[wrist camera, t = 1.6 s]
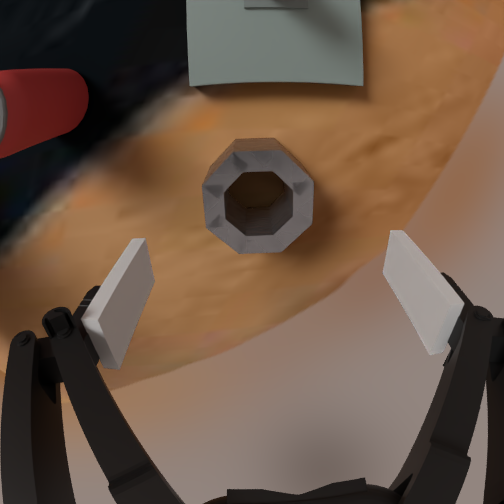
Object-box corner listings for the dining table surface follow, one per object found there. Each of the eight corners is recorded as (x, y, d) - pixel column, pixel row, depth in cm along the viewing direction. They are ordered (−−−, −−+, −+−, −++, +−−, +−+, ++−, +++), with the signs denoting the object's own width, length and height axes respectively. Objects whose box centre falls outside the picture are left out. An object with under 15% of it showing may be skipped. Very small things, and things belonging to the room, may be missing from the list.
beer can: (104, 88, 23) (24, 97, 13) (70, 145, 25) (-9, 184, 15) (59, 57, 21) (-27, 57, 10) (29, 113, 23) (-54, 139, 13)
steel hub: (215, 223, 30) (209, 254, 25) (208, 140, 26) (199, 153, 21) (299, 220, 30) (310, 250, 25) (300, 137, 26) (314, 150, 21)
